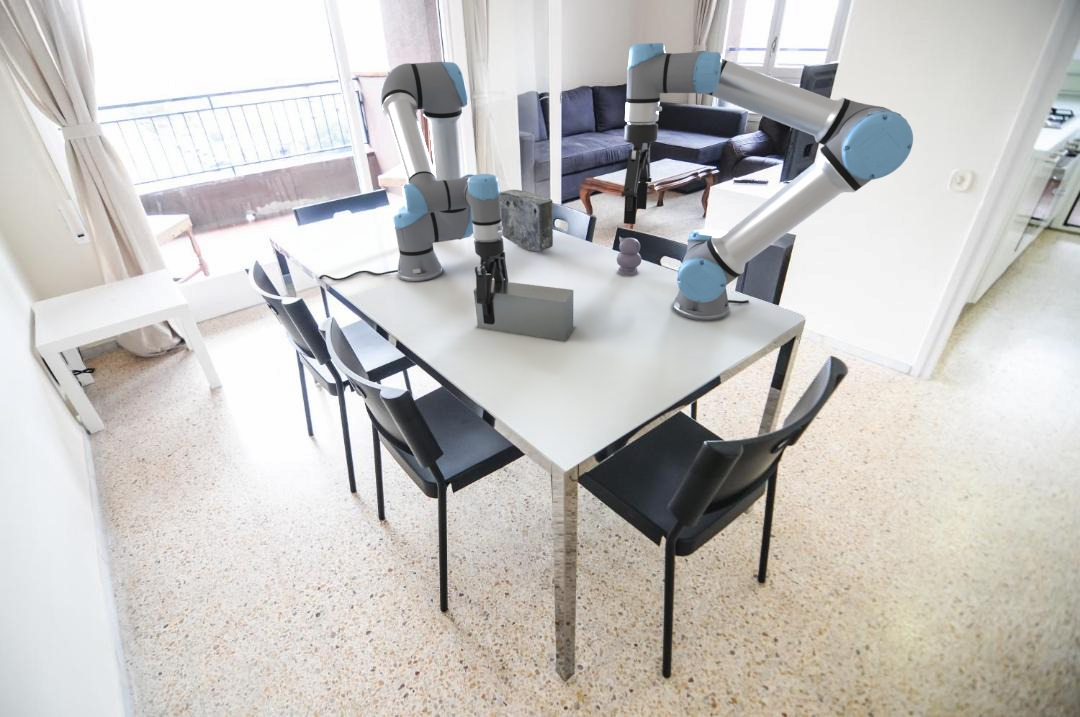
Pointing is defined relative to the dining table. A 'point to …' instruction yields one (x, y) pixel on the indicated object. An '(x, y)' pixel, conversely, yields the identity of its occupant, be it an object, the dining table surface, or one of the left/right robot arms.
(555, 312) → the box
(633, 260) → the cat figurine
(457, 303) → the dining table surface
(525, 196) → the concrete block
